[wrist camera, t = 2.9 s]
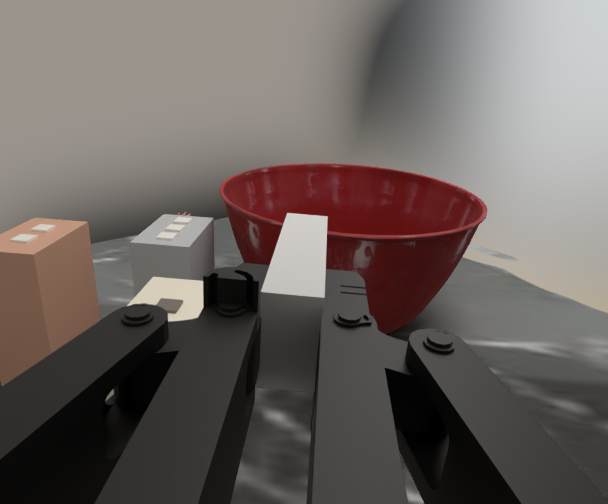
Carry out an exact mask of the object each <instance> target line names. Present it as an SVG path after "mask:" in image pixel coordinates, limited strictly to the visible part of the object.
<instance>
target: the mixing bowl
mask: <svg viewBox="0 0 608 504" xmlns="http://www.w3.org/2000/svg"><path fill="white" fill-rule="evenodd" d="M220 195H221V198H222V199H223V200H224V202H225V204H226V209H227V213H228V217H229V220H230V223H231V227H232V230H233V233H234V237H235V240H236V242H237V245H238V248H239V250H240V253H241V256H242V258H243V260H244V263H251V264H262V265H270V263H271V260H272V257H273V254H274V251H275V248H276V245H277V242H278V239H279V236H280V233H281V230H282V227H283V224H284V221H285V218H286V215H287V213H295V214H306V215H318V216H328V220H327V248H326V269H331V270H343V271H354V272H357V273H358V274H359V275H360V276H361V277H362V278H363V279H364V281H365V289H366V296H367V301H368V307H369V314H370V315H371V316H373V317H374V319H375V321H376V322H377V327H378V330H379V331H380V332H382V333H384V334H387V333H390V332H393V331H395V330H397V329H399V328H401V327H403V326H404V325H406V324H407V323H409V322H410V321H412V320H413V319H415V317H416V316H417V315H418V314H419V313H420V312H421V311H422V310H423V309H424V308H425V307H426V306H427V305H428V303H429V302H430V301H431V300H432V299H433V298H434V296H435V295H436V294H437V293H438V292H439V290H440V289H441V288H442V286H443V285H444V284H445V282H446V281H447V280H448V278H449V277H450V275H451V274H452V272H453V271H454V269H455V268H456V266H457V264H458V263H459V261H460V259H461V258H462V256H463V254H464V253H465V251H466V249H467V247H468V245H469V243H470V241H471V239H472V237H473V235H474V233H475V231H476V229H477V227H478V225H479V224H480V223H481V222H482V221H483V220H484V219H485V218H486V215H487V207H486V205H485V204H484V202H483V201H481V199H479V198H478V197H477V196H475V195H474V194H472V193H470V192H468V191H466V190H465V189H462V188H460V187H458V186H455V185H453V184H450V183H447V182H444V181H441V180H438V179H434V178H431V177H427V176H423V175H419V174H414V173H409V172H404V171H399V170H393V169H386V168H379V167H370V166H360V165H347V164H291V165H279V166H270V167H264V168H258V169H253V170H249V171H245V172H242V173H239V174H236V175H234V176H232V177H230V178H229V179H227V180H226V181H225V182H224V183H223V184H222V185H221V187H220Z"/></svg>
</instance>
